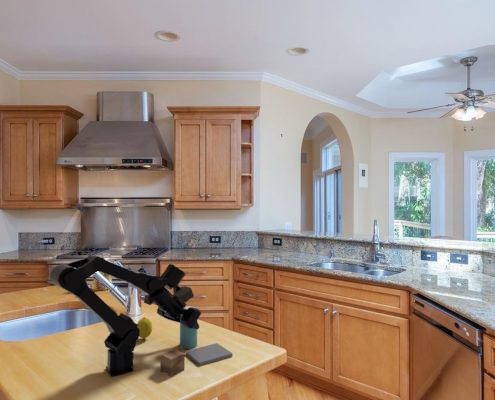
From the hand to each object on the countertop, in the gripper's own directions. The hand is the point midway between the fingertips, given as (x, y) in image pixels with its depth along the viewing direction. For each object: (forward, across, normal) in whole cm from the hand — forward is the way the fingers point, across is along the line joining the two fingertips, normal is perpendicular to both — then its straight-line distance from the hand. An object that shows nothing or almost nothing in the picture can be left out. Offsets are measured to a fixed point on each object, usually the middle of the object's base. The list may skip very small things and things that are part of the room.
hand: (191, 325), depth 126 cm
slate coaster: (+4, -11, +6) cm, 13 cm away
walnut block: (-6, -12, +16) cm, 21 cm away
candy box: (+13, +97, -3) cm, 98 cm away
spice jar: (+4, 0, +6) cm, 7 cm away
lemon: (-2, +16, +12) cm, 20 cm away
